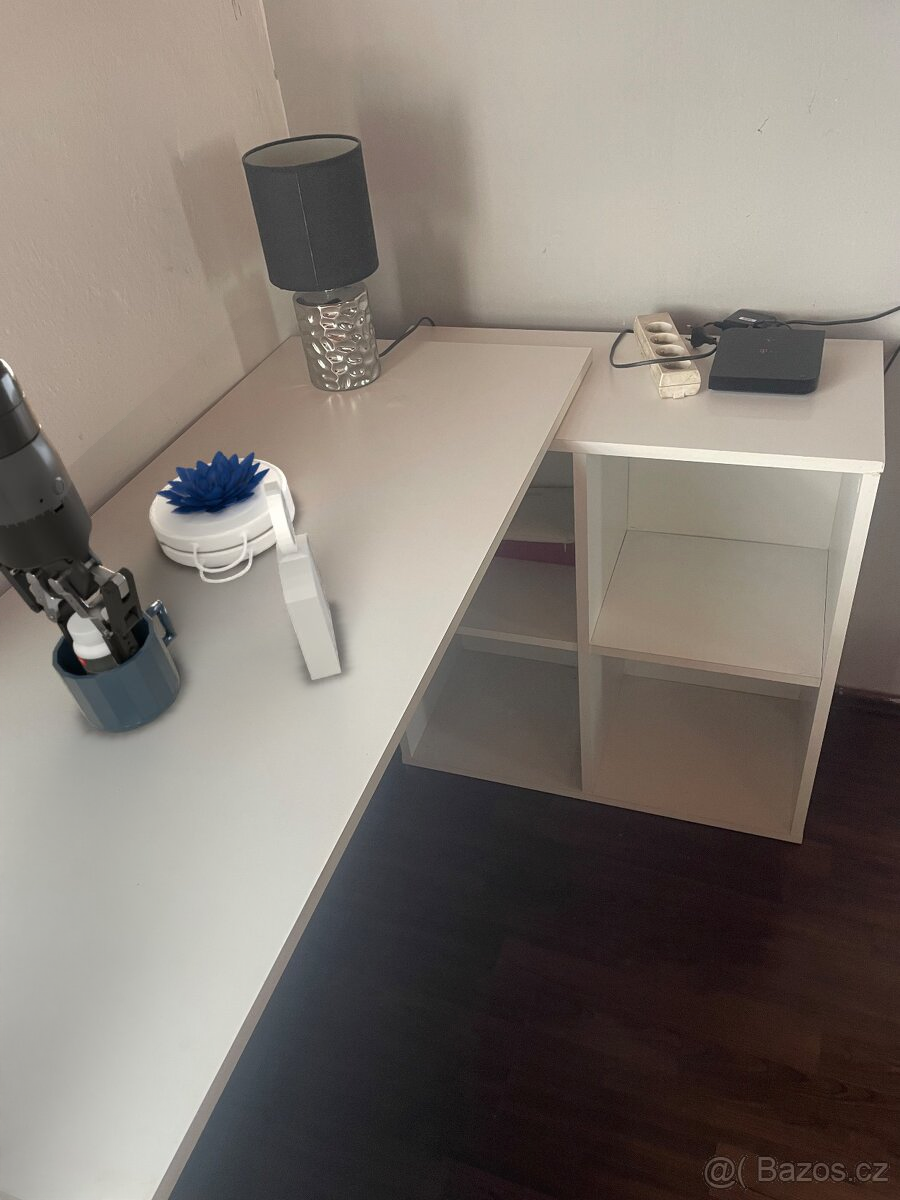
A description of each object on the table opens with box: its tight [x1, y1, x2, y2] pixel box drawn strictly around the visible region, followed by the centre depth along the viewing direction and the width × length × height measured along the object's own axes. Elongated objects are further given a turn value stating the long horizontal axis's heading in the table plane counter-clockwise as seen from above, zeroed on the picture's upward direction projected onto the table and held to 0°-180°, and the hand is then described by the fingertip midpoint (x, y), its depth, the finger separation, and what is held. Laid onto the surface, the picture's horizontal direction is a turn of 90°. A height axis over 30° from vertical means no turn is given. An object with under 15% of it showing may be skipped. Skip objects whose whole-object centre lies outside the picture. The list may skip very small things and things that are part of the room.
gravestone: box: [264, 481, 342, 681], centre depth 77 cm, size 3×9×18 cm, turn 12°
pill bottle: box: [67, 607, 119, 675], centre depth 77 cm, size 5×5×8 cm
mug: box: [51, 599, 181, 733], centre depth 79 cm, size 12×9×7 cm
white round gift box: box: [148, 450, 296, 584], centre depth 96 cm, size 7×16×20 cm
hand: (107, 651), depth 77 cm, fingers closed on pill bottle, 4 cm apart
